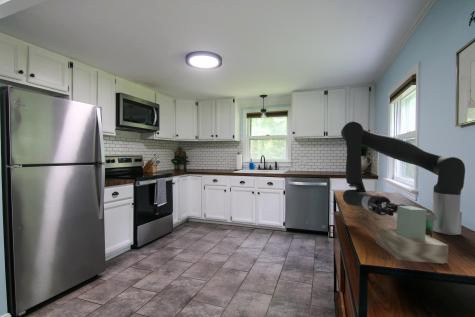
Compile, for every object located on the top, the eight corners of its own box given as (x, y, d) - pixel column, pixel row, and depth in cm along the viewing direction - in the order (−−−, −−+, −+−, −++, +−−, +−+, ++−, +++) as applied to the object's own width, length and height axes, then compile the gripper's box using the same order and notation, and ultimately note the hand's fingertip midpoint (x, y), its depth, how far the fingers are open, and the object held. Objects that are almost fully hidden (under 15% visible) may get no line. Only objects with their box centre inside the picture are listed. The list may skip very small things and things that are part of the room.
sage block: (410, 233, 86) (412, 206, 86) (425, 238, 80) (426, 209, 80) (396, 233, 85) (397, 205, 85) (409, 238, 80) (411, 209, 80)
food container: (442, 241, 95) (444, 216, 95) (424, 240, 97) (426, 214, 96) (425, 232, 107) (426, 209, 107) (409, 230, 109) (410, 208, 108)
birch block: (416, 246, 90) (417, 230, 90) (447, 264, 75) (448, 245, 75) (376, 243, 91) (376, 227, 91) (399, 261, 76) (400, 242, 76)
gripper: (359, 194, 101) (385, 202, 85) (392, 195, 102) (424, 203, 86) (358, 212, 102) (384, 223, 85) (391, 213, 102) (423, 224, 86)
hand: (404, 213), depth 86 cm, fingers open, 8 cm apart
